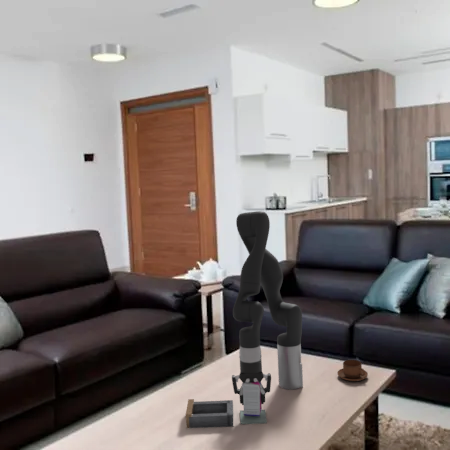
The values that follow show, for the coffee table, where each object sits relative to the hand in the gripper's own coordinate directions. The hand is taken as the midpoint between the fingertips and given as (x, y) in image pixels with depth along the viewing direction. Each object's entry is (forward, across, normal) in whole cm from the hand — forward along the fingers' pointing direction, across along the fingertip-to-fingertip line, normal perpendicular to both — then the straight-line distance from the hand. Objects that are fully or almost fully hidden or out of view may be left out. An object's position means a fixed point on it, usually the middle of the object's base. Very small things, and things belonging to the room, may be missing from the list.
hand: (252, 403), depth 184 cm
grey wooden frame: (+5, +15, 0) cm, 16 cm away
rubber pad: (+5, 0, 0) cm, 5 cm away
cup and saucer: (+6, -42, -31) cm, 52 cm away
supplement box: (+3, 0, 0) cm, 3 cm away
